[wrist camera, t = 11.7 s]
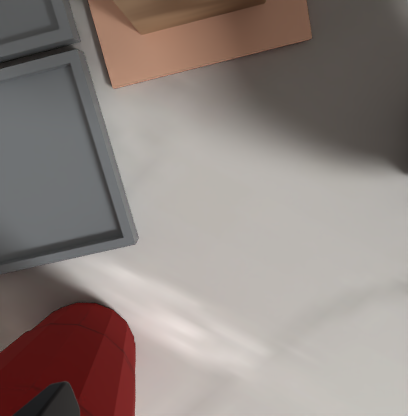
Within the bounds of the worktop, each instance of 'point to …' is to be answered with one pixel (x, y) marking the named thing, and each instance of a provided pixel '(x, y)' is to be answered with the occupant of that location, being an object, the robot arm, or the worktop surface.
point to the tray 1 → (35, 27)
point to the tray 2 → (56, 167)
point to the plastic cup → (73, 361)
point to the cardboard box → (176, 11)
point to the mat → (194, 39)
